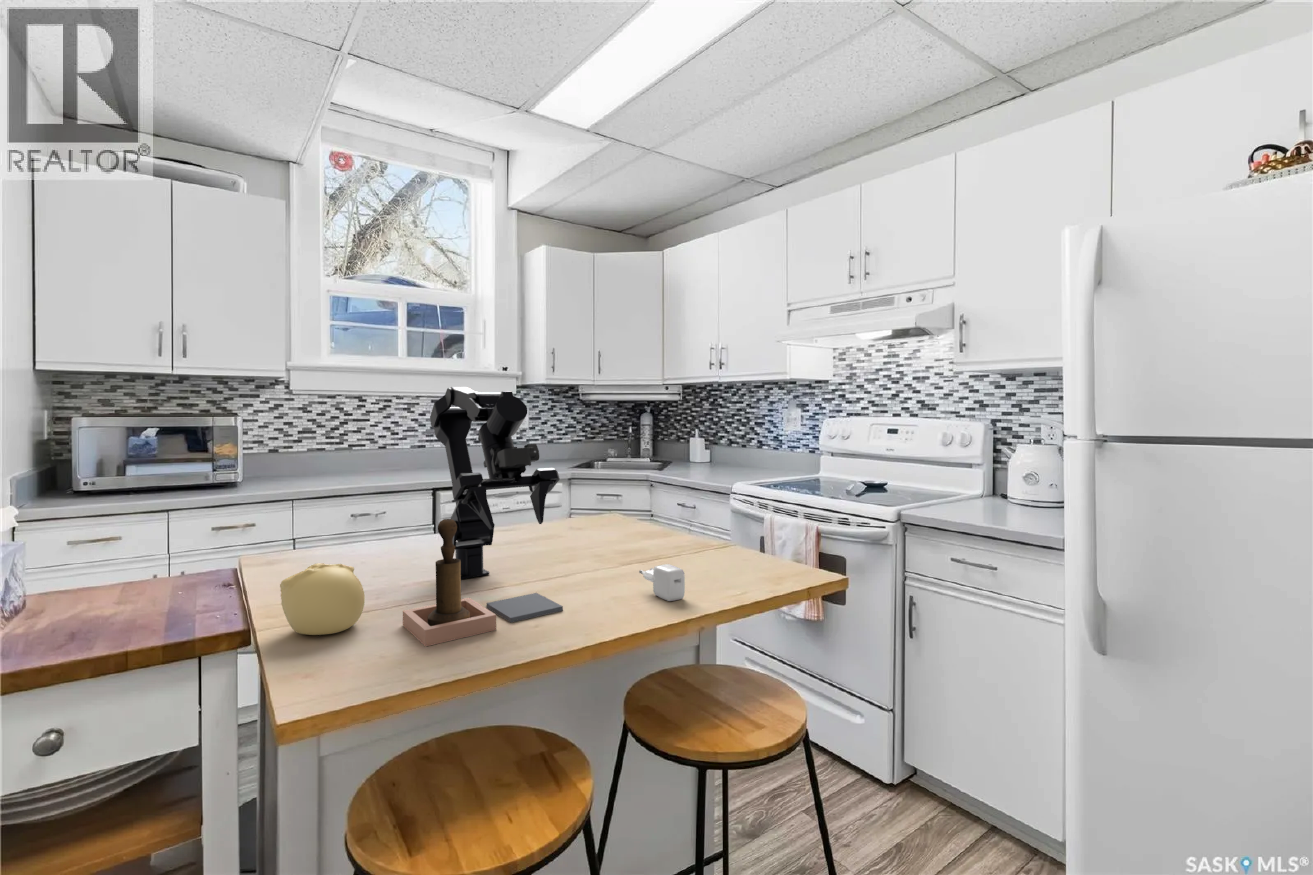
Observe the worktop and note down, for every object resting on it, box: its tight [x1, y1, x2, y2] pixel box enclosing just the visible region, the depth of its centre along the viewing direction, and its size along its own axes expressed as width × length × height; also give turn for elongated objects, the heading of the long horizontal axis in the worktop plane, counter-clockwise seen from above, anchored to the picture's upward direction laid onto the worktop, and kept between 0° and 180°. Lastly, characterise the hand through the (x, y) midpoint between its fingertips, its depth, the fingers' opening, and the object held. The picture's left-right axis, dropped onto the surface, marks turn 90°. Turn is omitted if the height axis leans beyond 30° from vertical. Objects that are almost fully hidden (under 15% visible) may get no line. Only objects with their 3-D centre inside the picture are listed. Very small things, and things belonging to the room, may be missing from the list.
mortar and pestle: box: [427, 518, 470, 626], centre depth 103 cm, size 7×6×18 cm
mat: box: [485, 592, 564, 623], centre depth 113 cm, size 10×10×1 cm
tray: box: [402, 597, 497, 647], centre depth 104 cm, size 11×11×2 cm
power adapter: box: [638, 563, 686, 602], centre depth 122 cm, size 11×5×6 cm, turn 34°
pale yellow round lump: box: [279, 562, 366, 636], centre depth 103 cm, size 11×12×11 cm
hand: (517, 526), depth 113 cm, fingers open, 9 cm apart
